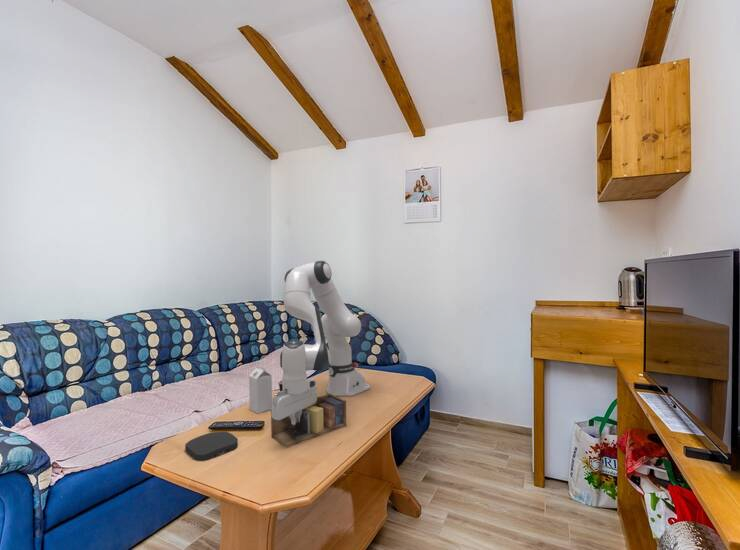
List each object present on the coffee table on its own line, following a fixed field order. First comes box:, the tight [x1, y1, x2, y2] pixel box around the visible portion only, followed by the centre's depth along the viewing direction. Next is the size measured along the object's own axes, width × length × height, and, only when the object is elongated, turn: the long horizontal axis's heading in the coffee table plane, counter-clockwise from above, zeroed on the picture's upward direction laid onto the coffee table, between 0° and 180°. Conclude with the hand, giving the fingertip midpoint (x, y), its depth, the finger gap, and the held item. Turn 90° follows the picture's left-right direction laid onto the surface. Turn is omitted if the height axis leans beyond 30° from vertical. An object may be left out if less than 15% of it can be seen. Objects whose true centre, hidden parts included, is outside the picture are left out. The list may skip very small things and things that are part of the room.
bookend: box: [285, 409, 310, 439], centre depth 137 cm, size 6×8×8 cm
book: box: [303, 406, 324, 433], centre depth 140 cm, size 4×8×8 cm, turn 60°
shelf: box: [270, 393, 347, 449], centre depth 141 cm, size 26×11×10 cm, turn 131°
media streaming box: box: [184, 431, 239, 462], centre depth 129 cm, size 15×15×3 cm
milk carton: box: [248, 365, 273, 414], centre depth 164 cm, size 7×7×19 cm
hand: (295, 423), depth 136 cm, fingers closed
